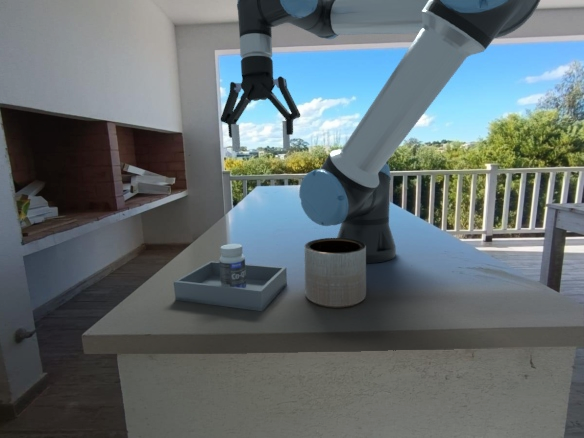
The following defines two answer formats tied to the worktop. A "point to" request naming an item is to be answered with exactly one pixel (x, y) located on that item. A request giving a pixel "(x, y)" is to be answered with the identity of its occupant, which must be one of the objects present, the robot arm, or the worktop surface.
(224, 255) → the pill bottle
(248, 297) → the grey tray
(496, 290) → the worktop surface
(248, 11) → the robot arm
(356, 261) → the planter
